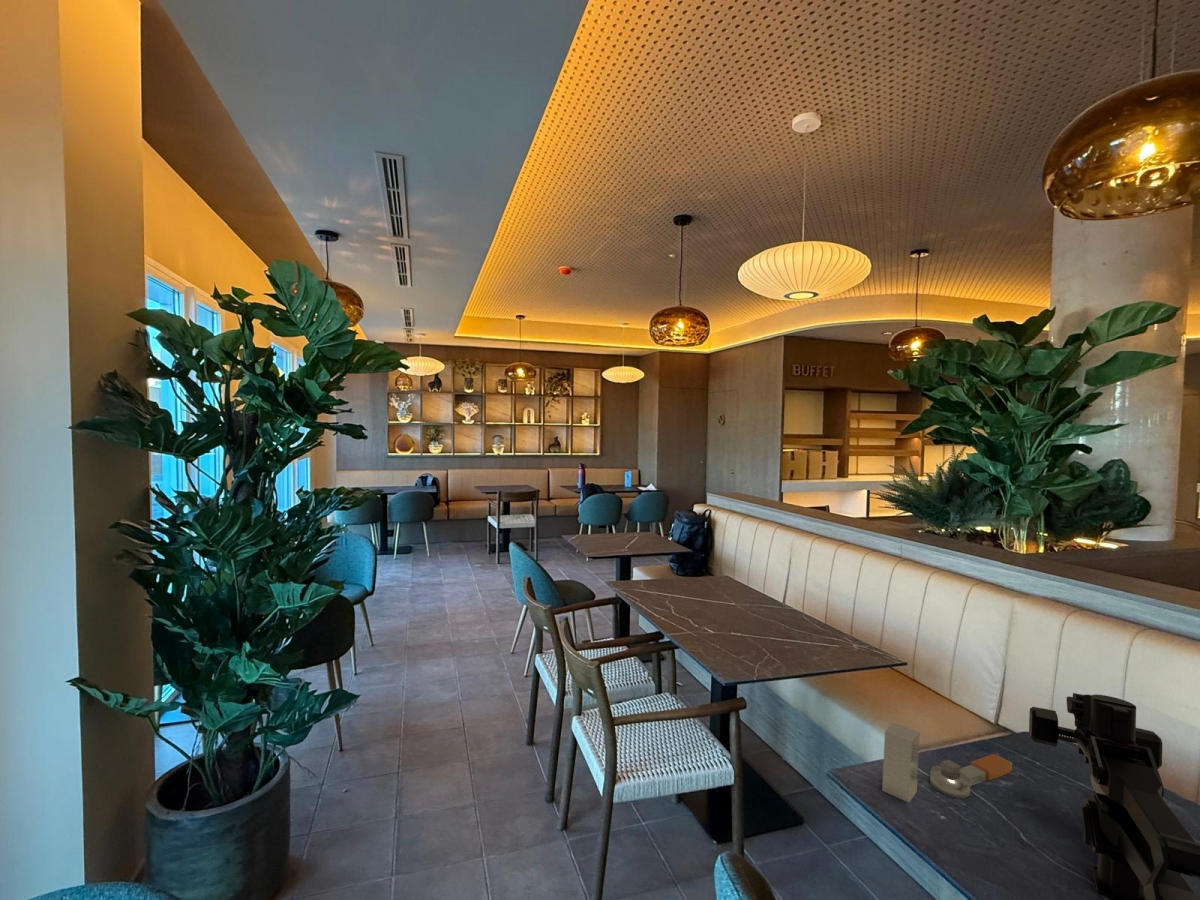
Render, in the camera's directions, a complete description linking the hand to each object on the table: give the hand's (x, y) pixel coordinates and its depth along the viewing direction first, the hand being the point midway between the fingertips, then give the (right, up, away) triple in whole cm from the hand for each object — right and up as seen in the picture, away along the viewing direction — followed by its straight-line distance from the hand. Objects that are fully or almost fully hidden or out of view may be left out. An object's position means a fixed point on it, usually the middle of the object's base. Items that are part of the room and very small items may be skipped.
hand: (1078, 720), depth 110 cm
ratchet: (-17, -16, +7) cm, 24 cm away
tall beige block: (-35, -15, +2) cm, 39 cm away
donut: (+8, -17, +1) cm, 19 cm away
